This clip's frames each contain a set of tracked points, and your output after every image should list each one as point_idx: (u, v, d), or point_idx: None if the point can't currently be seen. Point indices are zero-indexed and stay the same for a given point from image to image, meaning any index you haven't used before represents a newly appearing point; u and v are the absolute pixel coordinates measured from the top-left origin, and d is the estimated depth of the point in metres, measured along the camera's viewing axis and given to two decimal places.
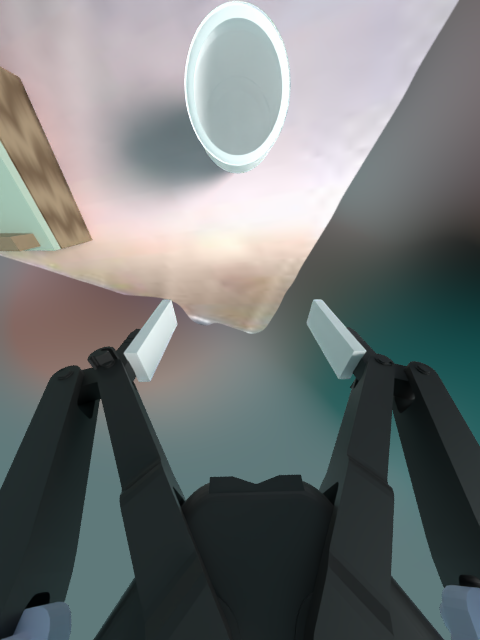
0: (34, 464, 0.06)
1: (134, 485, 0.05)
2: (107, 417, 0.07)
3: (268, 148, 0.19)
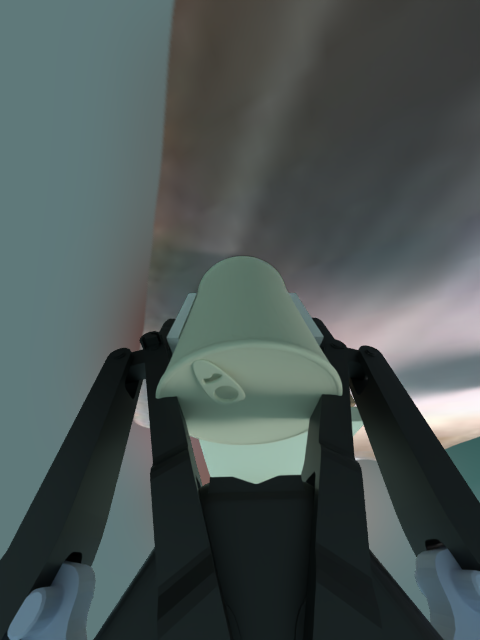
0: (86, 432, 0.07)
1: (163, 462, 0.06)
2: (148, 394, 0.08)
3: None
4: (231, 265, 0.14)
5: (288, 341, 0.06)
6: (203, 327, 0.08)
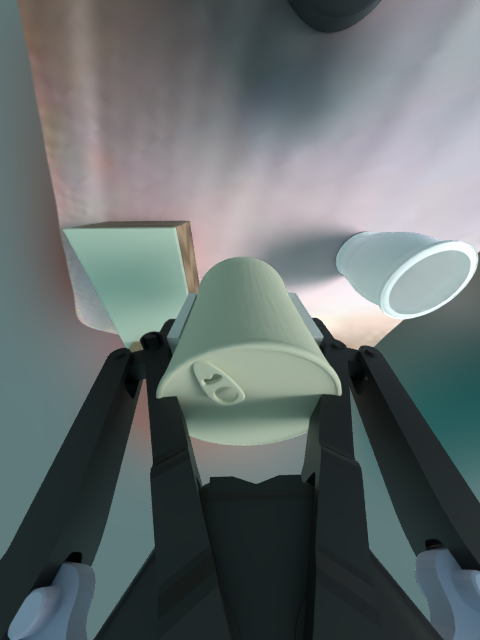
0: (87, 432, 0.07)
1: (163, 462, 0.06)
2: (148, 394, 0.08)
3: (433, 309, 0.24)
4: (231, 266, 0.14)
5: (287, 342, 0.07)
6: (203, 328, 0.08)
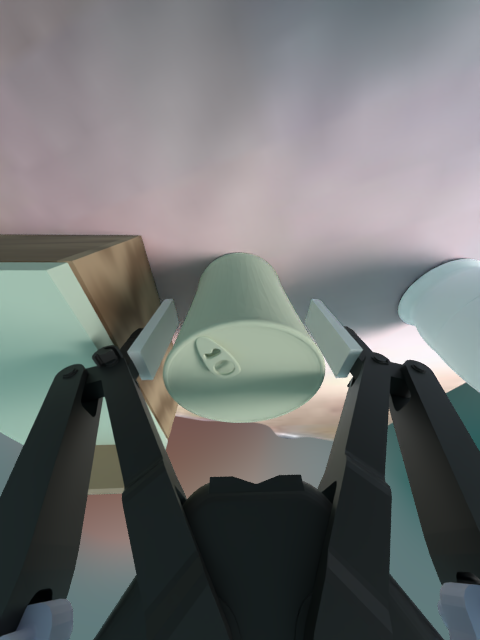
0: (39, 461, 0.06)
1: (136, 483, 0.05)
2: (110, 415, 0.07)
3: None
4: (229, 261, 0.15)
5: (276, 320, 0.08)
6: (204, 311, 0.09)
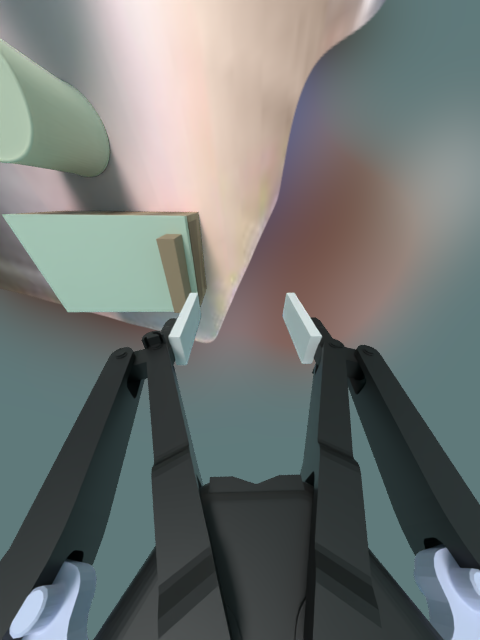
0: (89, 431, 0.07)
1: (165, 461, 0.06)
2: (150, 393, 0.08)
3: None
4: None
5: None
6: None
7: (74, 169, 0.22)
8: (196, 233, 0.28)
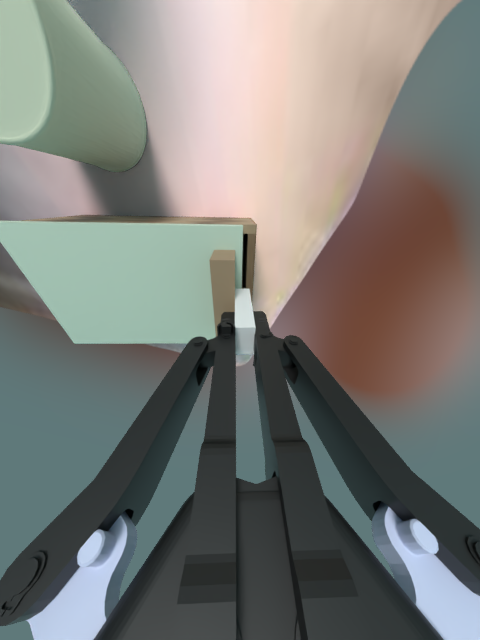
0: (161, 406, 0.08)
1: (212, 445, 0.06)
2: (213, 376, 0.09)
3: None
4: None
5: None
6: None
7: (102, 160, 0.16)
8: None
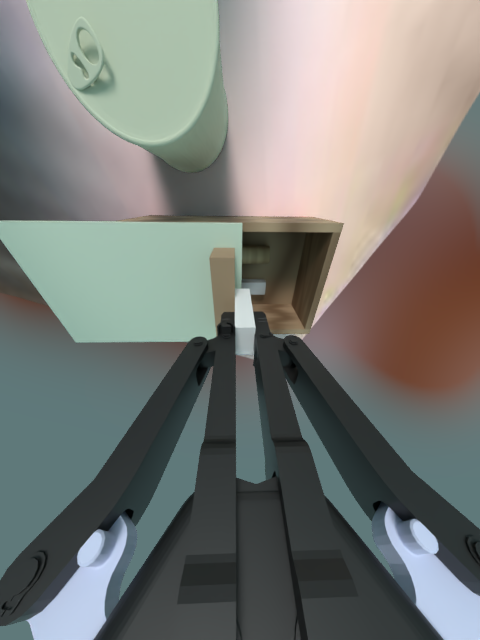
0: (161, 406, 0.08)
1: (212, 445, 0.06)
2: (213, 376, 0.09)
3: None
4: None
5: None
6: None
7: (193, 161, 0.16)
8: None
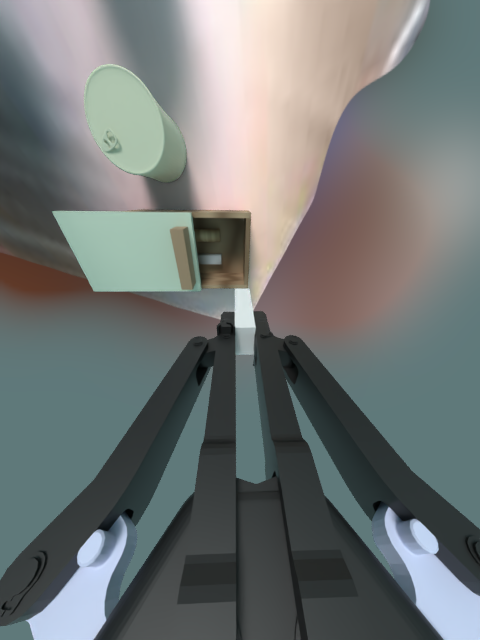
0: (161, 406, 0.08)
1: (212, 445, 0.06)
2: (213, 376, 0.09)
3: None
4: None
5: (86, 109, 0.20)
6: None
7: (164, 177, 0.29)
8: None
